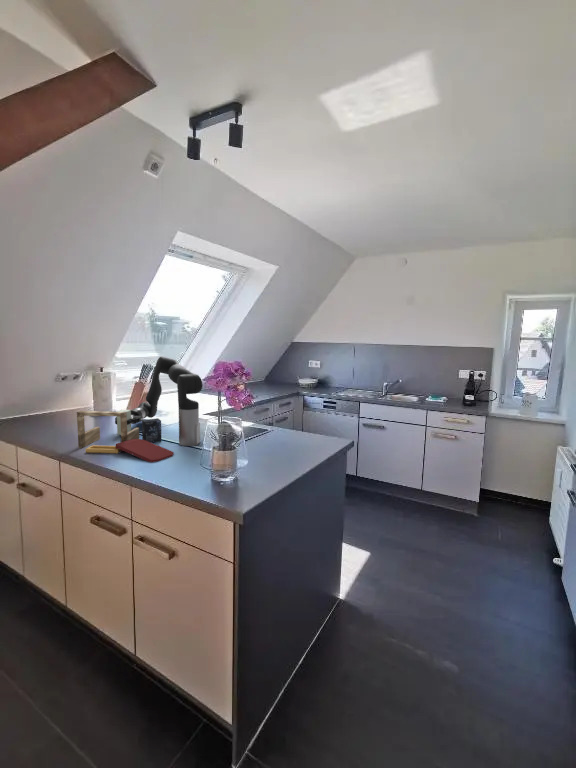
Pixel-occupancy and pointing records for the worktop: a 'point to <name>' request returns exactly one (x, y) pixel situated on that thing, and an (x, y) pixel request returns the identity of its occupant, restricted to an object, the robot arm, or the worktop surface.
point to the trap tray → (103, 449)
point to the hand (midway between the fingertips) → (121, 422)
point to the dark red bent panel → (144, 450)
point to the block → (120, 421)
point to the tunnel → (94, 433)
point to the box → (151, 430)
